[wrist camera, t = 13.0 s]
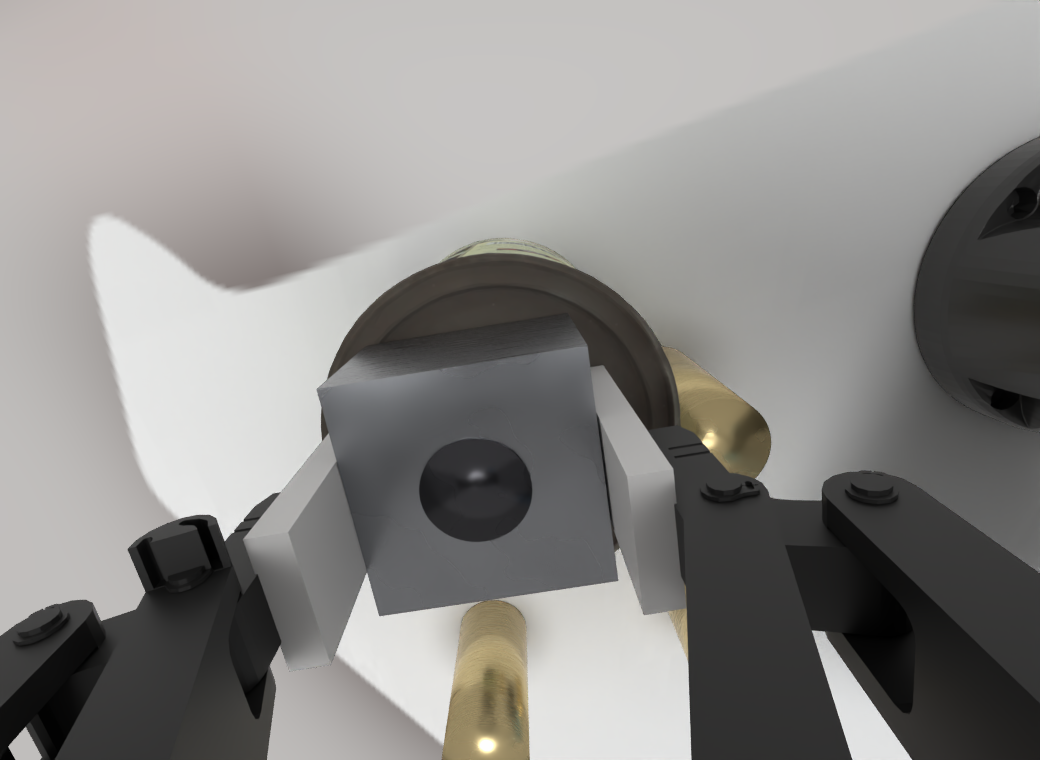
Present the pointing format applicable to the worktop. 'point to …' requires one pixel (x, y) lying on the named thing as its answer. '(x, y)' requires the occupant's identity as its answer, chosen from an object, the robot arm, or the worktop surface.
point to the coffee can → (524, 317)
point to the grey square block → (473, 464)
